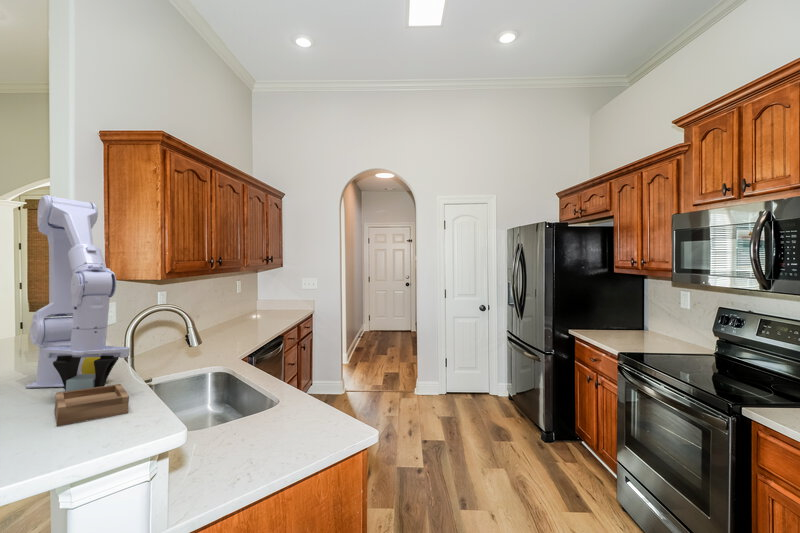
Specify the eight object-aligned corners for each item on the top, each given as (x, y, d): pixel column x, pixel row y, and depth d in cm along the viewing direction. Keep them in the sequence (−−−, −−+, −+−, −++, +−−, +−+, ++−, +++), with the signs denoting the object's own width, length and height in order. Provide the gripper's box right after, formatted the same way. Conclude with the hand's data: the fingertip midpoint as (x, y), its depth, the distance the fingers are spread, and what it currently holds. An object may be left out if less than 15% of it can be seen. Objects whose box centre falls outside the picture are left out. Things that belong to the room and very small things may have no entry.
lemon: (92, 388, 82) (95, 353, 82) (73, 385, 83) (76, 350, 83) (116, 381, 87) (119, 348, 88) (98, 379, 89) (100, 346, 89)
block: (77, 395, 77) (79, 374, 77) (102, 394, 78) (104, 373, 78) (64, 402, 73) (66, 380, 73) (90, 401, 74) (92, 379, 74)
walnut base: (54, 409, 69) (55, 392, 69) (119, 398, 76) (120, 383, 76) (56, 426, 62) (58, 407, 62) (127, 413, 69) (129, 396, 69)
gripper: (34, 329, 70) (28, 399, 70) (120, 330, 74) (115, 396, 74) (57, 324, 77) (52, 388, 77) (135, 325, 81) (131, 386, 80)
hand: (84, 391), depth 76 cm, fingers closed on block, 4 cm apart
